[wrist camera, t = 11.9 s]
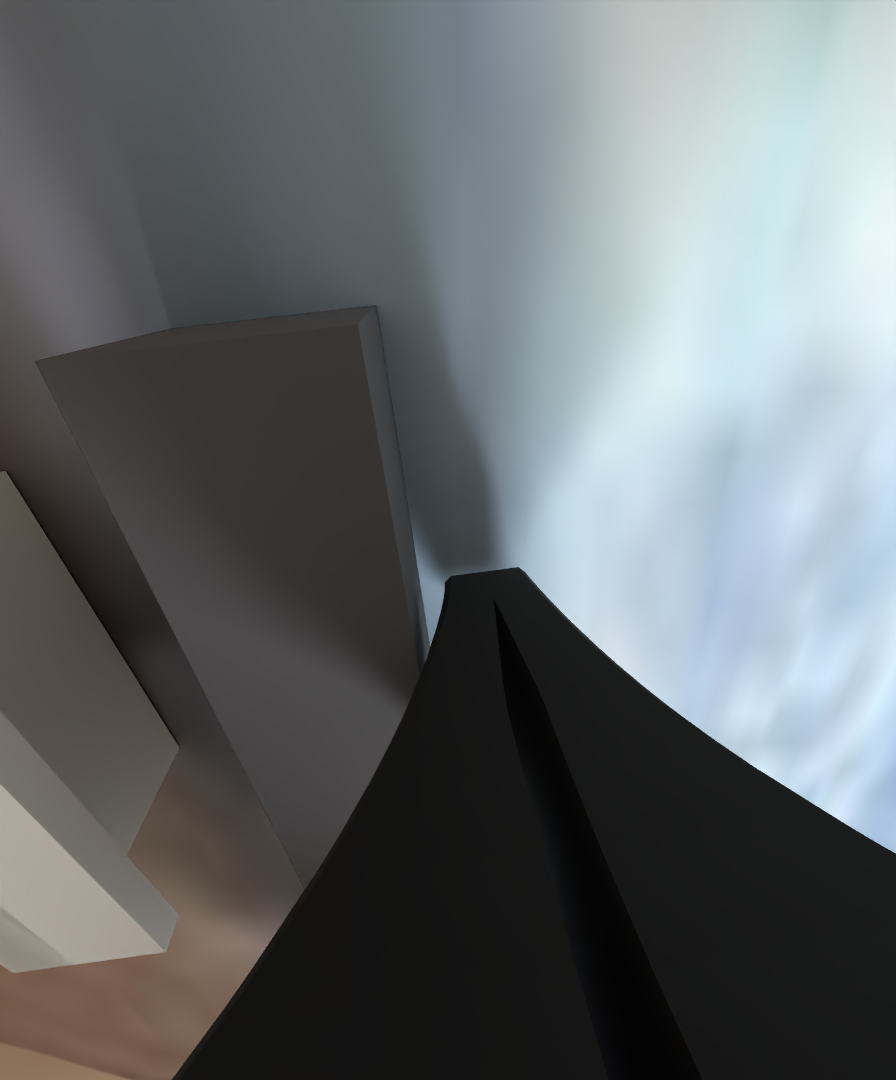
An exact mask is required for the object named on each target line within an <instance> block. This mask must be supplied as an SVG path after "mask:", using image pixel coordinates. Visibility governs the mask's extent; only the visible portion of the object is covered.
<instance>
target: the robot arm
mask: <svg viewBox="0 0 896 1080" xmlns="http://www.w3.org/2000/svg"><path fill="white" fill-rule="evenodd" d="M172 1080H896V854H895V853H894V852H892V851H890V850H888V849H887V848H885V847H883V846H881V845H880V844H878V843H876V842H874V841H873V840H871V839H869V838H868V837H866V836H864V835H863V834H861V833H859V832H858V831H856V830H854V829H853V828H851V827H849V826H848V825H846V824H844V823H843V822H841V821H840V820H838V819H836V818H835V817H833V816H832V815H830V814H828V813H827V812H825V811H824V810H822V809H820V808H819V807H817V806H816V805H814V804H812V803H811V802H809V801H808V800H806V799H804V798H803V797H801V796H800V795H798V794H797V793H795V792H793V791H792V790H790V789H789V788H787V787H785V786H784V785H782V784H781V783H779V782H777V781H776V780H774V779H773V778H771V777H769V776H768V775H766V774H765V773H763V772H761V771H760V770H758V769H757V768H755V767H753V766H752V765H750V764H749V763H747V762H746V761H745V760H743V759H742V758H740V757H739V756H737V755H736V754H734V753H733V752H731V751H730V750H729V749H727V748H726V747H724V746H723V745H721V744H720V743H718V742H717V741H715V740H714V739H712V738H711V737H710V736H708V735H707V734H706V733H704V732H703V731H701V730H700V729H699V728H697V727H696V726H695V725H693V724H692V723H691V722H689V721H688V720H686V719H685V718H684V717H682V716H681V715H680V714H678V713H677V712H676V711H674V710H673V709H672V708H670V707H669V706H668V705H666V704H665V703H664V702H663V701H661V700H660V699H659V698H657V697H656V696H655V695H654V694H652V693H651V692H650V691H649V690H647V689H646V688H645V687H644V686H642V685H641V684H640V683H639V682H638V681H636V680H635V679H634V678H633V677H632V676H631V675H629V674H628V673H627V672H626V671H625V670H623V669H622V668H621V667H620V666H619V665H617V664H616V663H615V662H614V661H613V660H612V659H611V658H610V657H608V656H607V655H606V654H605V653H604V652H603V651H602V650H601V649H599V648H598V647H597V646H596V645H595V644H594V643H593V642H592V641H591V640H590V639H589V638H588V637H587V636H586V635H585V634H583V633H582V632H581V631H580V630H579V629H578V628H577V627H576V626H575V625H574V624H573V623H572V622H571V621H570V620H569V619H568V618H567V617H566V616H565V615H564V614H563V613H562V612H561V611H560V610H559V609H558V608H557V607H556V606H555V605H554V604H553V603H552V602H551V601H550V600H549V599H548V598H547V596H546V595H545V594H544V593H543V592H542V591H541V590H540V589H539V588H538V587H537V586H536V584H535V583H534V582H533V581H532V580H531V579H530V578H529V576H528V575H527V574H526V573H525V572H524V571H523V570H522V569H520V568H519V567H516V568H509V569H501V570H494V571H486V572H479V573H471V574H464V575H456V576H450V578H449V579H448V580H447V581H446V582H445V592H444V599H443V604H442V609H441V613H440V617H439V621H438V625H437V628H436V631H435V634H434V637H433V640H432V643H431V647H430V650H429V653H428V656H427V659H426V661H425V664H424V667H423V670H422V672H421V674H420V677H419V679H418V682H417V684H416V687H415V689H414V691H413V694H412V696H411V699H410V701H409V703H408V706H407V708H406V711H405V713H404V715H403V717H402V719H401V721H400V724H399V726H398V728H397V730H396V732H395V734H394V736H393V738H392V740H391V742H390V744H389V746H388V748H387V750H386V752H385V754H384V756H383V758H382V760H381V762H380V764H379V766H378V768H377V770H376V771H375V773H374V775H373V777H372V779H371V781H370V783H369V784H368V786H367V788H366V790H365V791H364V793H363V795H362V797H361V798H360V800H359V802H358V804H357V805H356V807H355V809H354V811H353V812H352V814H351V816H350V818H349V819H348V821H347V823H346V825H345V826H344V828H343V830H342V832H341V833H340V835H339V836H338V838H337V840H336V841H335V843H334V845H333V846H332V848H331V850H330V851H329V853H328V855H327V856H326V858H325V859H324V861H323V863H322V864H321V866H320V867H319V869H318V871H317V872H316V874H315V875H314V877H313V878H312V880H311V881H310V883H309V884H308V886H307V887H306V889H305V890H304V892H303V893H302V895H301V896H300V898H299V899H298V901H297V902H296V904H295V905H294V907H293V908H292V910H291V911H290V913H289V914H288V916H287V917H286V919H285V920H284V922H283V923H282V925H281V926H280V928H279V929H278V931H277V932H276V934H275V935H274V937H273V938H272V940H271V941H270V943H269V944H268V946H267V947H266V949H265V950H264V952H263V953H262V955H261V956H260V958H259V959H258V961H257V962H256V964H255V965H254V967H253V968H252V970H251V971H250V973H249V974H248V976H247V977H246V978H245V980H244V981H243V983H242V984H241V986H240V987H239V988H238V990H237V991H236V993H235V994H234V996H233V997H232V998H231V1000H230V1001H229V1003H228V1004H227V1006H226V1007H225V1008H224V1010H223V1011H222V1012H221V1014H220V1015H219V1016H218V1018H217V1019H216V1021H215V1022H214V1023H213V1025H212V1026H211V1027H210V1029H209V1030H208V1031H207V1033H206V1034H205V1035H204V1037H203V1038H202V1039H201V1041H200V1042H199V1044H198V1045H197V1046H196V1048H195V1049H194V1050H193V1052H192V1053H191V1054H190V1056H189V1057H188V1058H187V1060H186V1061H185V1063H184V1064H183V1065H182V1067H181V1068H180V1069H179V1071H178V1072H177V1073H176V1075H175V1076H174V1077H173V1079H172Z"/></svg>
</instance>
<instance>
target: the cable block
mask: <svg viewBox="0 0 896 1080" xmlns="http://www.w3.org/2000/svg"><path fill="white" fill-rule="evenodd" d="M35 363H36V364H37V366H38V368H39V370H40V372H41V374H42V376H43V378H44V380H45V382H46V384H47V386H48V388H49V390H50V392H51V394H52V396H53V398H54V400H55V402H56V404H57V406H58V407H59V409H60V411H61V413H62V415H63V417H64V419H65V421H66V423H67V425H68V427H69V429H70V431H71V433H72V435H73V437H74V439H75V441H76V443H77V445H78V447H79V449H80V451H81V452H82V454H83V456H84V458H85V460H86V462H87V464H88V466H89V468H90V470H91V472H92V474H93V476H94V478H95V480H96V482H97V484H98V486H99V488H100V490H101V492H102V494H103V496H104V497H105V499H106V501H107V503H108V505H109V507H110V509H111V511H112V513H113V515H114V517H115V519H116V521H117V523H118V525H119V527H120V529H121V531H122V533H123V535H124V537H125V539H126V541H127V542H128V544H129V546H130V548H131V550H132V552H133V554H134V556H135V558H136V560H137V562H138V564H139V566H140V568H141V570H142V572H143V574H144V576H145V578H146V580H147V582H148V584H149V586H150V587H151V589H152V591H153V593H154V595H155V597H156V599H157V601H158V603H159V605H160V607H161V609H162V611H163V613H164V615H165V617H166V619H167V621H168V623H169V625H170V627H171V629H172V631H173V632H174V634H175V636H176V638H177V640H178V642H179V644H180V646H181V648H182V650H183V652H184V654H185V656H186V658H187V660H188V662H189V664H190V666H191V668H192V670H193V672H194V674H195V676H196V677H197V679H198V681H199V683H200V685H201V687H202V689H203V691H204V693H205V695H206V697H207V699H208V701H209V703H210V705H211V707H212V709H213V711H214V713H215V715H216V717H217V719H218V721H219V722H220V724H221V726H222V728H223V730H224V732H225V734H226V736H227V738H228V740H229V742H230V744H231V746H232V748H233V750H234V752H235V754H236V756H237V758H238V760H239V762H240V764H241V766H242V767H243V769H244V771H245V773H246V775H247V777H248V779H249V781H250V783H251V785H252V787H253V789H254V791H255V793H256V795H257V797H258V799H259V801H260V803H261V805H262V807H263V809H264V811H265V812H266V814H267V816H268V818H269V820H270V822H271V824H272V826H273V828H274V830H275V832H276V834H277V836H278V838H279V840H280V842H281V844H282V846H283V848H284V850H285V852H286V854H287V856H288V857H289V859H290V861H291V863H292V865H293V867H294V869H295V871H296V873H297V875H298V877H299V879H300V881H301V883H302V885H303V887H304V889H306V887H307V886H308V884H309V883H310V881H311V880H312V878H313V877H314V875H315V874H316V872H317V871H318V869H319V867H320V866H321V864H322V863H323V861H324V859H325V858H326V856H327V855H328V853H329V851H330V850H331V848H332V846H333V845H334V843H335V841H336V840H337V838H338V836H339V835H340V833H341V832H342V830H343V828H344V826H345V825H346V823H347V821H348V819H349V818H350V816H351V814H352V812H353V811H354V809H355V807H356V805H357V804H358V802H359V800H360V798H361V797H362V795H363V793H364V791H365V790H366V788H367V786H368V784H369V783H370V781H371V779H372V777H373V775H374V773H375V771H376V770H377V768H378V766H379V764H380V762H381V760H382V758H383V756H384V754H385V752H386V750H387V748H388V746H389V744H390V742H391V740H392V738H393V736H394V734H395V732H396V730H397V728H398V726H399V724H400V721H401V719H402V717H403V715H404V713H405V711H406V708H407V706H408V703H409V701H410V699H411V696H412V694H413V691H414V689H415V687H416V684H417V682H418V679H419V677H420V674H421V672H422V670H423V667H424V664H425V661H426V659H427V656H428V653H429V650H430V644H429V638H428V632H427V625H426V619H425V612H424V606H423V600H422V593H421V587H420V580H419V574H418V568H417V561H416V555H415V548H414V542H413V536H412V529H411V523H410V516H409V510H408V504H407V497H406V491H405V484H404V478H403V472H402V465H401V459H400V452H399V446H398V440H397V433H396V427H395V420H394V414H393V408H392V401H391V395H390V388H389V382H388V376H387V369H386V363H385V356H384V350H383V343H382V337H381V331H380V324H379V318H378V311H377V305H375V306H366V307H358V308H349V309H340V310H331V311H323V312H314V313H305V314H296V315H287V316H279V317H270V318H261V319H252V320H244V321H235V322H226V323H217V324H208V325H200V326H191V327H182V328H173V329H167V330H163V331H159V332H155V333H151V334H146V335H142V336H138V337H134V338H130V339H125V340H121V341H117V342H113V343H109V344H104V345H100V346H96V347H92V348H88V349H83V350H79V351H75V352H71V353H67V354H62V355H58V356H54V357H50V358H46V359H41V360H37V361H35Z"/></svg>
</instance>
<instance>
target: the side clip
mask: <svg viewBox="0 0 896 1080" xmlns="http://www.w3.org/2000/svg"><path fill="white" fill-rule="evenodd" d="M178 750H179V746H178V745H177V743H176V742H175V740H174V738H173V737H172V735H171V734H170V732H169V730H168V729H167V727H166V726H165V724H164V722H163V721H162V719H161V718H160V716H159V715H158V713H157V711H156V710H155V708H154V707H153V705H152V703H151V702H150V700H149V699H148V697H147V695H146V694H145V692H144V691H143V689H142V687H141V686H140V684H139V683H138V681H137V679H136V678H135V676H134V675H133V673H132V672H131V670H130V668H129V667H128V665H127V664H126V662H125V660H124V659H123V657H122V656H121V654H120V652H119V651H118V649H117V648H116V646H115V644H114V643H113V641H112V640H111V638H110V636H109V635H108V633H107V632H106V630H105V629H104V627H103V625H102V624H101V622H100V621H99V619H98V617H97V616H96V614H95V613H94V611H93V609H92V608H91V606H90V605H89V603H88V601H87V600H86V598H85V597H84V595H83V593H82V592H81V590H80V589H79V587H78V585H77V584H76V582H75V581H74V579H73V578H72V576H71V574H70V573H69V571H68V570H67V568H66V566H65V565H64V563H63V562H62V560H61V558H60V557H59V555H58V554H57V552H56V550H55V549H54V547H53V546H52V544H51V542H50V541H49V539H48V538H47V536H46V535H45V533H44V531H43V530H42V528H41V527H40V525H39V523H38V522H37V520H36V519H35V517H34V515H33V514H32V512H31V511H30V509H29V507H28V506H27V504H26V503H25V501H24V499H23V498H22V496H21V495H20V493H19V492H18V490H17V488H16V487H15V485H14V484H13V482H12V480H11V479H10V477H9V476H8V474H7V472H6V471H1V472H0V965H2V966H3V967H5V968H6V969H7V970H9V971H10V972H12V973H16V972H24V971H31V970H38V969H46V968H53V967H60V966H67V965H75V964H82V963H89V962H97V961H104V960H111V959H119V958H126V957H133V956H140V955H148V954H155V953H162V952H166V950H167V947H168V944H169V942H170V939H171V936H172V933H173V930H174V928H175V925H176V922H177V919H178V917H179V915H178V914H177V913H176V911H175V910H174V909H173V908H172V907H171V906H170V905H169V903H168V902H167V901H166V900H165V899H164V898H163V897H162V895H161V894H160V893H159V892H158V891H157V890H156V889H155V887H154V886H153V885H152V884H151V883H150V882H149V880H148V879H147V878H146V877H145V876H144V875H143V874H142V872H141V871H140V870H139V869H138V868H137V867H136V866H135V864H134V863H133V862H132V861H131V860H130V859H129V858H128V856H127V854H128V852H129V850H130V848H131V846H132V844H133V842H134V840H135V838H136V836H137V834H138V832H139V830H140V828H141V826H142V824H143V822H144V819H145V817H146V815H147V813H148V811H149V809H150V807H151V805H152V803H153V801H154V799H155V797H156V795H157V793H158V791H159V789H160V787H161V785H162V782H163V780H164V778H165V776H166V774H167V772H168V770H169V768H170V766H171V764H172V762H173V760H174V758H175V756H176V754H177V752H178Z"/></svg>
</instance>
